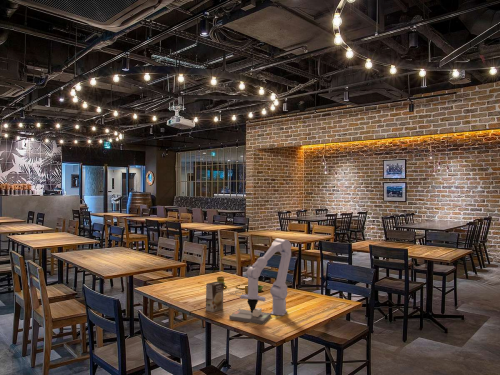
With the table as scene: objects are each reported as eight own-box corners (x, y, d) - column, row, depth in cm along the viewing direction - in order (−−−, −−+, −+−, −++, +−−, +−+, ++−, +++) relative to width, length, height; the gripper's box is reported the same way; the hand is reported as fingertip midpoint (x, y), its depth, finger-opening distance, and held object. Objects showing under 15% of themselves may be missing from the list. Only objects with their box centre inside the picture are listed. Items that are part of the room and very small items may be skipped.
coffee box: (212, 312, 232) (213, 285, 232) (205, 310, 236) (205, 283, 236) (223, 308, 239) (223, 282, 240) (216, 306, 243) (216, 281, 244)
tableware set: (201, 287, 294) (202, 278, 294) (228, 281, 315) (228, 273, 315) (240, 298, 266) (240, 288, 266) (267, 291, 286) (267, 282, 286)
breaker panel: (229, 319, 220) (229, 315, 220) (239, 312, 233) (239, 308, 233) (262, 324, 212) (262, 320, 212) (271, 316, 225) (271, 313, 226)
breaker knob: (252, 316, 219) (252, 310, 219) (256, 313, 225) (256, 307, 225) (257, 316, 218) (257, 311, 218) (261, 313, 223) (261, 308, 223)
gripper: (238, 288, 221) (238, 312, 221) (262, 291, 216) (262, 316, 216) (243, 286, 228) (243, 309, 228) (266, 288, 223) (266, 312, 222)
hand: (252, 312), depth 222 cm, fingers closed
